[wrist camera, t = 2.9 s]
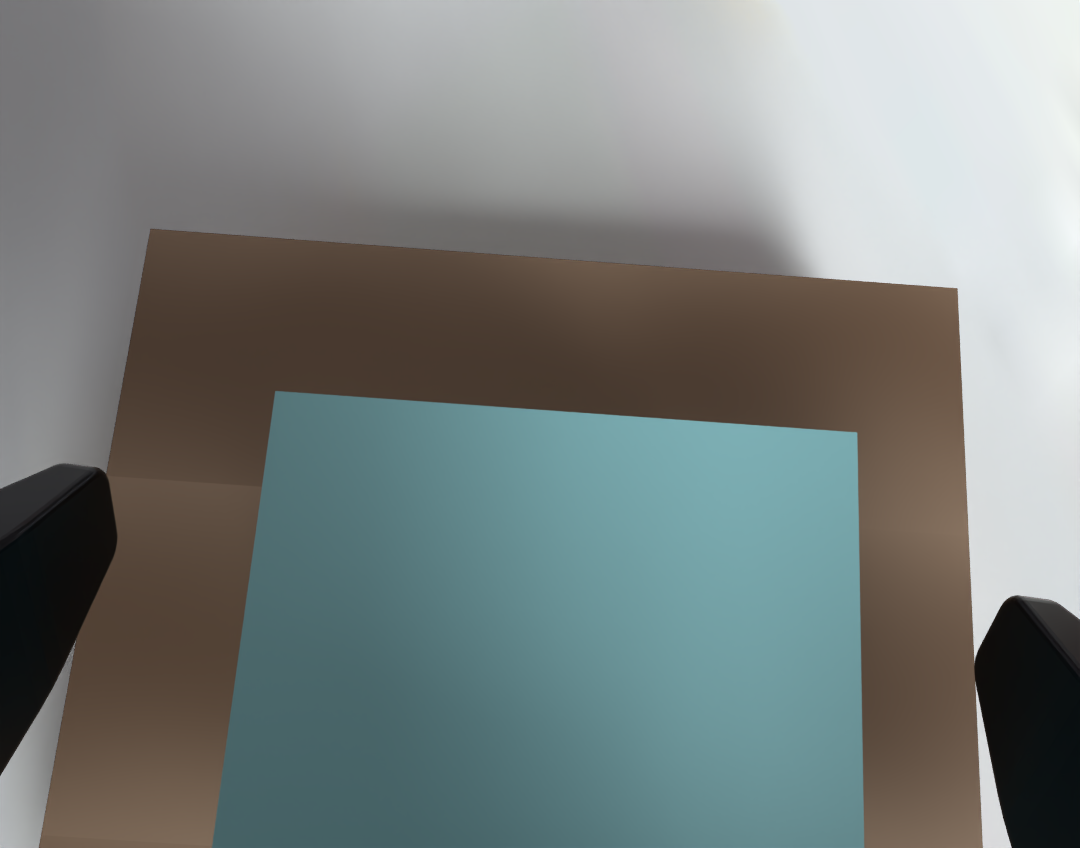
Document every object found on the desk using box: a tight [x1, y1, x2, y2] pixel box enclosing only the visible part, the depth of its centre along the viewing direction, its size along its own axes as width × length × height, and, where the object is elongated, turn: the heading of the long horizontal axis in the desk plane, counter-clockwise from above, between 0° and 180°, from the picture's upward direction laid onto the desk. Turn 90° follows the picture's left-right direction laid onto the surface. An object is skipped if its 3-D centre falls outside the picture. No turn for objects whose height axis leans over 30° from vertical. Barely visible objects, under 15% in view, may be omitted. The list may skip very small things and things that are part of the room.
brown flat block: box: [39, 229, 983, 848], centre depth 14 cm, size 12×12×4 cm
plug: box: [212, 391, 864, 848], centre depth 11 cm, size 4×4×10 cm
